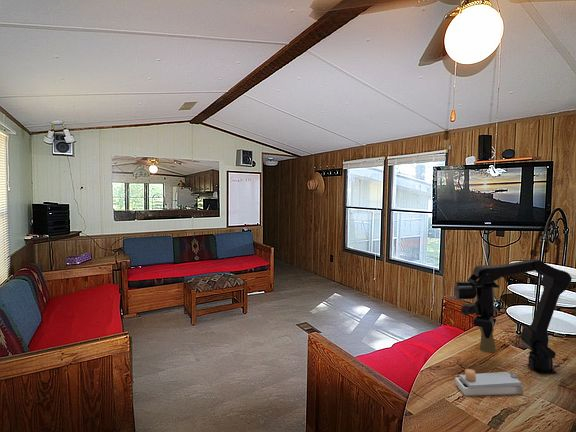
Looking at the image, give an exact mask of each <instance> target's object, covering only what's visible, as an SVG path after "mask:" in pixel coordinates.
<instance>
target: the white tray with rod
mask: <svg viewBox="0 0 576 432" xmlns="http://www.w3.org/2000/svg"><path fill="white" fill-rule="evenodd" d="M454 384H455V386H456V387H457V388H458V389H459V391H460V392H461V393H462V394H463V395H464V396H465V397H467V396H469V397H470V396H499V395H500V396H501V395H502V396H503V395H506V396H507V395H523V394H524V390H523V388H524V387H523V386H512V387H495V388H478V389H470V388H469V387H468V386H467V385H466V384H465V383H464V382H463V381H462V380H461V379H460V376H459V377H458V376H457V377H454Z"/></svg>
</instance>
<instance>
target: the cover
mask: <svg viewBox="0 0 576 432" xmlns="http://www.w3.org/2000/svg"><path fill="white" fill-rule="evenodd" d="M459 377H460V379H461V380H462V381H463V382H464V383H465V384H466V385H467V386H468V387H469V388H470V389H478V388H495V387H512V386H522V382H521V381H520V380H519V379H518V378H519V377H518V375H517V374H516V373H509V371H501V372H500V371H499V372H484V373H476V370H475V369H471V368H465V369H464V374H459ZM522 387H523V386H522Z"/></svg>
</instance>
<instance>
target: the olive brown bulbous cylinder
mask: <svg viewBox="0 0 576 432" xmlns="http://www.w3.org/2000/svg"><path fill="white" fill-rule="evenodd" d="M494 329H495V328H493V330H492V332H491V335H490V337H489V339H488V338H486V337H485V335H484V332H483V329H482V327H479V330H480V334H481V335H480V342H479V344H480V345H479V346H480V347H479V349H480V351H482V352H483V353H487V352H488V353H487V354H493V353H494V352H495V353H496V352H497V349H496V343H495V339H494V335H493V334H494Z"/></svg>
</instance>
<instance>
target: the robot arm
mask: <svg viewBox="0 0 576 432" xmlns="http://www.w3.org/2000/svg"><path fill="white" fill-rule="evenodd" d="M529 272H530V273H531V272H536V273H538V274H540V275H541V276H542V279H541V281H542V282H541V283H542V288H543V291H542V293H541V296H540V300H539V303H538V305H537V308H536V311H535V312H534V313H535V314H534V316H533V319H532V322H531V324H529V325H528V326H526V325H523V326H522V330H521V333H520V334H519V336H520V340H521V342H522V343H523V344H524V345H525V346H526V348H527V349H528V350H530V351H528V353H529V354H528V363H527V367H529V368H530V369H532V370H533V371H534V372H536V374H539V375H540V374H557V370H554V367H553V366H554V365H553V364H554V363H553V359H555V358H556V356H557V355H556V354H557V353H556V352H555V351H554V350H553V349H552V348H550V347H549V334H548V329H549V326H550V323H551V320H552V317H553V315H554V311H555V310H556V306H557V304H558V300H559V298H560V295H561V294H562V293H565V291H566V290H567V289H568V288H569V286H570V285H571V284H572V283H571V282H572V279H573V278H572V276H571V275H570V273H569V272H567V271H565V270H561V269H558V268H555V267H553V266H551V265H549V264H547V263H545V262H544V261H543V260H541V259H537V258H530V259H526V260H520V261H515V262H509V263H505V264H499V265H490V264H485V265H482V264H481V265H476V266H475V267H474V269H472V274H471V275H470V276H469V278H468V279H467V281H457V280H456V281H455V286H454V288H453V292H454V295H455V299H456V300H473V299H474V298H476V301H475V302H472V303H466V304H463V305H461V307H460V312H461V313H462V314H463V316H466V317H467V316H468V315H473V314H475V316H474V318H473V319H472V325H473V327H479V328H480V327H482V329H483V332H484V335H485V337H486V338H488V339H489V337H490V335H491V332H492V330H493V329H494V327H495V324H496V323H497V318H494V317H495V316H498V315H499V309H498V308H497V307H495V302H496V301H495V299H494V288H495V289H496V288H500V285H499V284H497V283H496V282H495V281H498V280H499V279H501V278H503V277H508V276H512V275H519V274H522V273H529Z"/></svg>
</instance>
